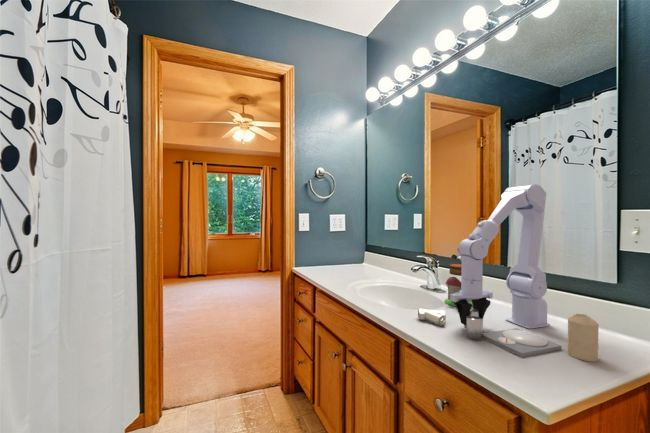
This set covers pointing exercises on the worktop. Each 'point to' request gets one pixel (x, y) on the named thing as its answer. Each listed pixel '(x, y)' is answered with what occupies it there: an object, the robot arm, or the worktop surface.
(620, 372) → the worktop surface
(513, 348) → the scale
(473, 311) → the cylinder
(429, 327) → the worktop surface
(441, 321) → the pipe fitting
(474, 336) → the cylinder
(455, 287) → the multicoloured stacked round part
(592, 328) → the candle
